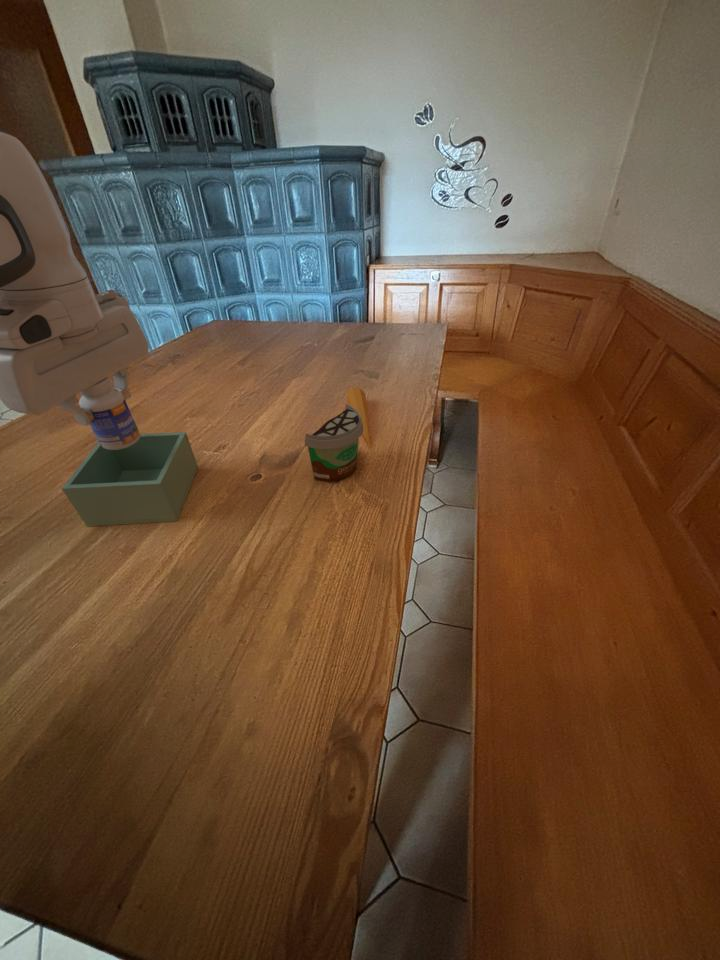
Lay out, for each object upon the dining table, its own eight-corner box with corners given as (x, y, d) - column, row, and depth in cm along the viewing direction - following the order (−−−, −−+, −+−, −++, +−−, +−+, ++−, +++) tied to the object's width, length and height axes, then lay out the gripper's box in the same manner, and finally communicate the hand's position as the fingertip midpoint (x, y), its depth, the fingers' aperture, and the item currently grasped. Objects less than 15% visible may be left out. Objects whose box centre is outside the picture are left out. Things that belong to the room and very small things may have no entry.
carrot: (349, 403, 90) (341, 388, 87) (367, 396, 89) (360, 380, 86) (364, 461, 76) (355, 445, 73) (385, 452, 75) (377, 436, 72)
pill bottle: (135, 449, 56) (107, 387, 50) (95, 453, 55) (61, 391, 49) (145, 429, 60) (120, 370, 54) (108, 432, 59) (78, 373, 53)
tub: (177, 521, 60) (160, 483, 55) (86, 526, 59) (61, 488, 54) (198, 467, 70) (185, 431, 65) (122, 471, 69) (103, 435, 64)
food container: (337, 496, 64) (334, 447, 58) (308, 483, 67) (303, 434, 60) (375, 459, 72) (377, 412, 66) (348, 448, 75) (347, 402, 68)
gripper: (101, 284, 54) (138, 377, 63) (-55, 333, 39) (23, 446, 47) (139, 287, 52) (171, 381, 61) (-7, 339, 37) (64, 454, 46)
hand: (106, 410), depth 54 cm, fingers closed on pill bottle, 5 cm apart
